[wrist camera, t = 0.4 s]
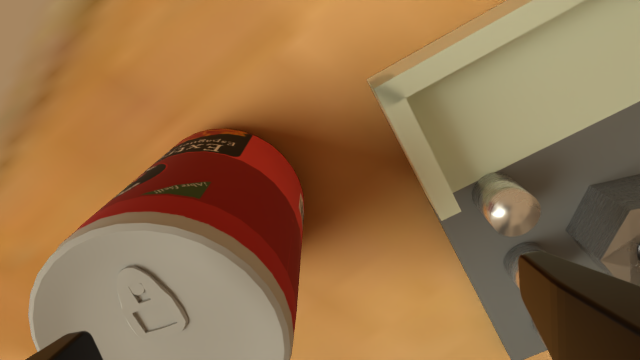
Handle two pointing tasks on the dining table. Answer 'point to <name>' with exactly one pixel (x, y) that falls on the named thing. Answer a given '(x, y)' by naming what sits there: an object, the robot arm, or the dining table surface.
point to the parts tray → (509, 88)
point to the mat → (541, 218)
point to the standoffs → (508, 215)
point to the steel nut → (610, 227)
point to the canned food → (184, 259)
